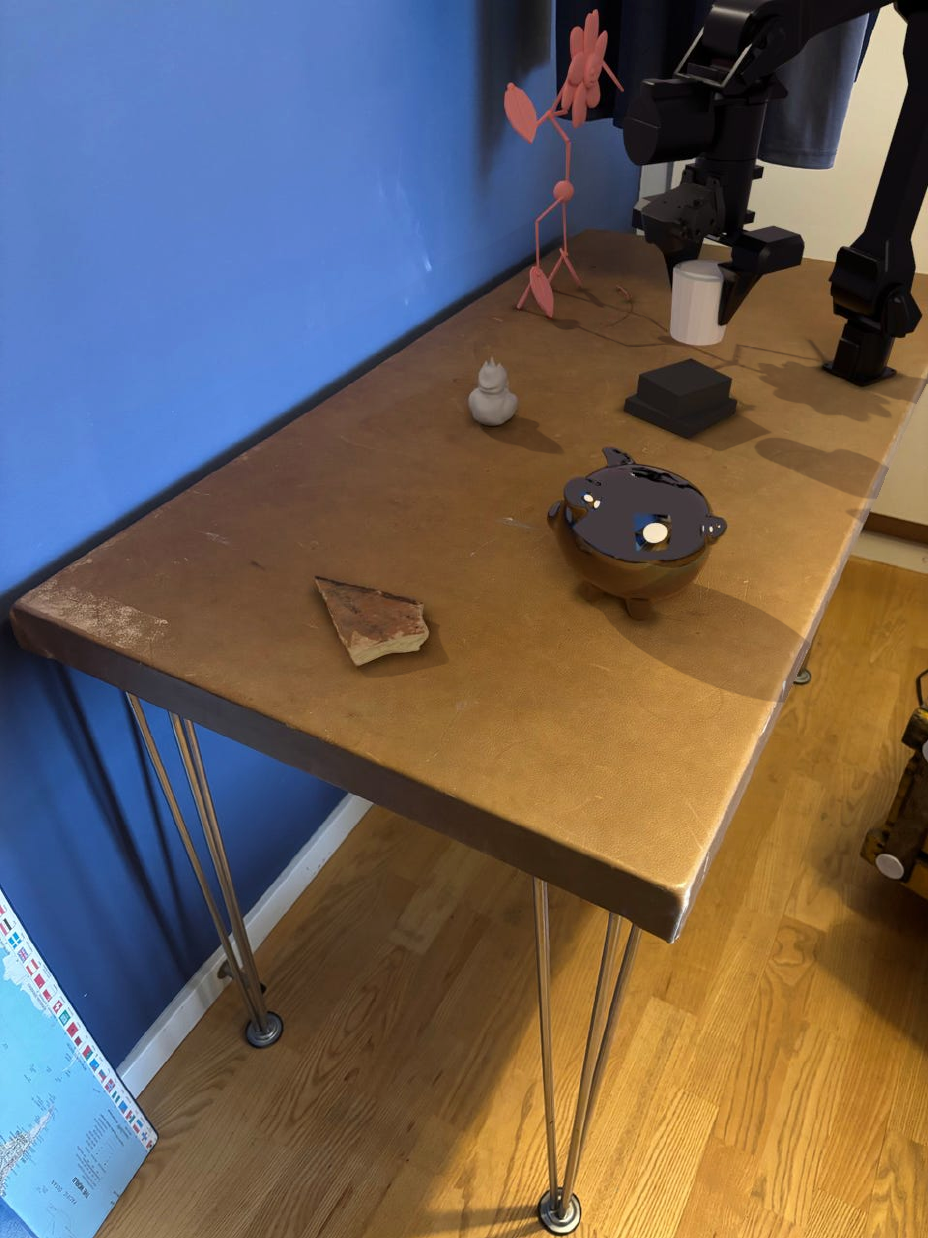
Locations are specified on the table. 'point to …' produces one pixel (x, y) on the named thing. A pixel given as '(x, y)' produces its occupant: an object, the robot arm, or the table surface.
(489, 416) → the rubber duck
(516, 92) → the figurine
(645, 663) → the table surface
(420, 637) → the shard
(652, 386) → the black pad
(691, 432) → the base pad
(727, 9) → the robot arm
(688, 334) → the shot glass
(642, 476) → the piggy bank
